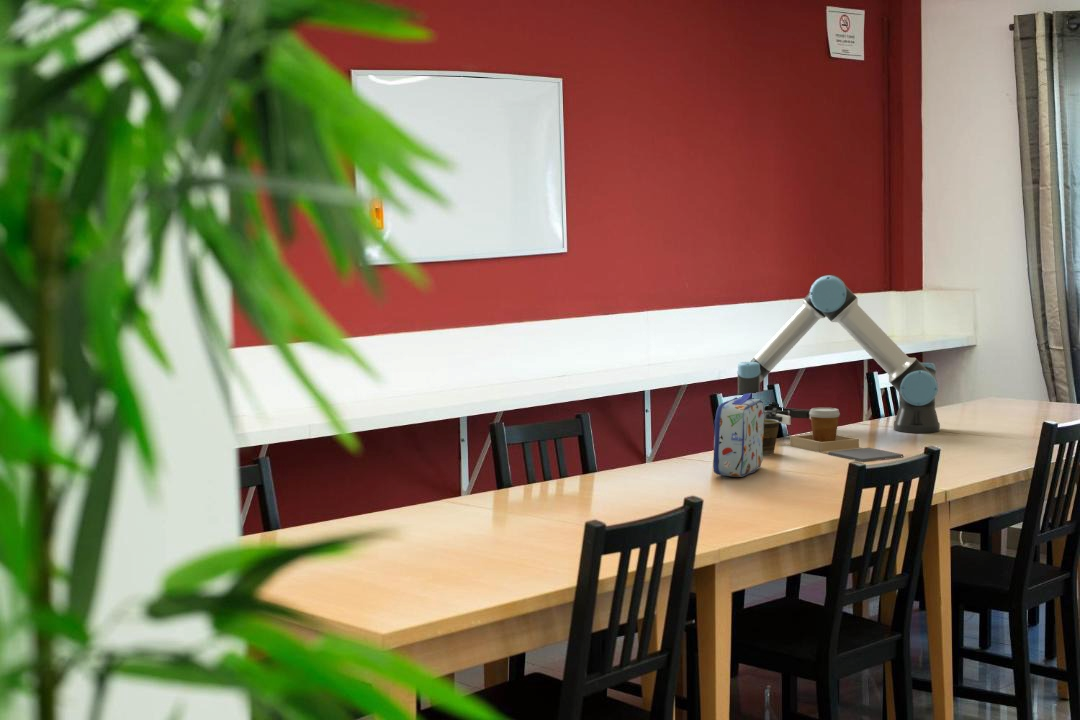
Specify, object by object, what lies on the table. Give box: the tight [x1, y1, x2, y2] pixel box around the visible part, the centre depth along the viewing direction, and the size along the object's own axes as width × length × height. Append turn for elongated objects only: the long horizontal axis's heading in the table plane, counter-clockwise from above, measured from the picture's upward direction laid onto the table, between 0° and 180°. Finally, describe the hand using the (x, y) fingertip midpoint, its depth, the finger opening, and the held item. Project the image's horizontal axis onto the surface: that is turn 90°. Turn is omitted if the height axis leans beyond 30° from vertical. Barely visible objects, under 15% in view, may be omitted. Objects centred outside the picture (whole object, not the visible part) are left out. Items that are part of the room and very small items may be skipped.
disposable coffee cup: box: [809, 407, 841, 442], centre depth 407 cm, size 10×10×12 cm
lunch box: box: [712, 393, 764, 478], centre depth 364 cm, size 28×10×22 cm, turn 158°
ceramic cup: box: [762, 419, 780, 456], centre depth 395 cm, size 13×10×10 cm
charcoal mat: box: [827, 447, 904, 463], centre depth 390 cm, size 16×15×1 cm
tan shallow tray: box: [783, 433, 862, 455], centre depth 407 cm, size 15×21×3 cm
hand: (806, 418), depth 414 cm, fingers open, 13 cm apart
